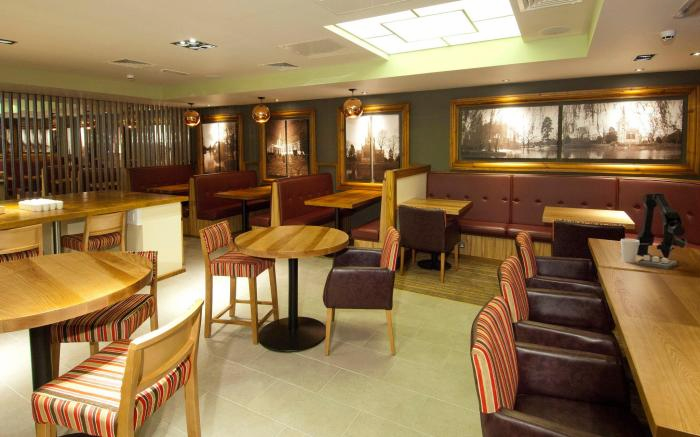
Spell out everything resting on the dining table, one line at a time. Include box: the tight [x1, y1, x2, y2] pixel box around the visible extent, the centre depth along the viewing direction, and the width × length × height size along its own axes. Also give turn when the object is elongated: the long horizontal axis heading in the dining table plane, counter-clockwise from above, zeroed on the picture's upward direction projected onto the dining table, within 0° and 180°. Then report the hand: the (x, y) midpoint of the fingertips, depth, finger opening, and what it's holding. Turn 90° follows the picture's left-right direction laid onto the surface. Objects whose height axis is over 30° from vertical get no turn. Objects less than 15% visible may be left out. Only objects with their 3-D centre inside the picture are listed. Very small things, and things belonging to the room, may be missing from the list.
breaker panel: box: [637, 256, 678, 270], centre depth 251 cm, size 16×15×2 cm
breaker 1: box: [642, 255, 651, 261], centre depth 252 cm, size 2×3×3 cm
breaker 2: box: [661, 257, 670, 263], centre depth 246 cm, size 2×3×3 cm
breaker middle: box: [652, 255, 660, 262], centre depth 249 cm, size 2×3×3 cm
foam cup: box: [620, 238, 640, 264], centre depth 258 cm, size 10×9×13 cm
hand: (666, 260), depth 247 cm, fingers closed
